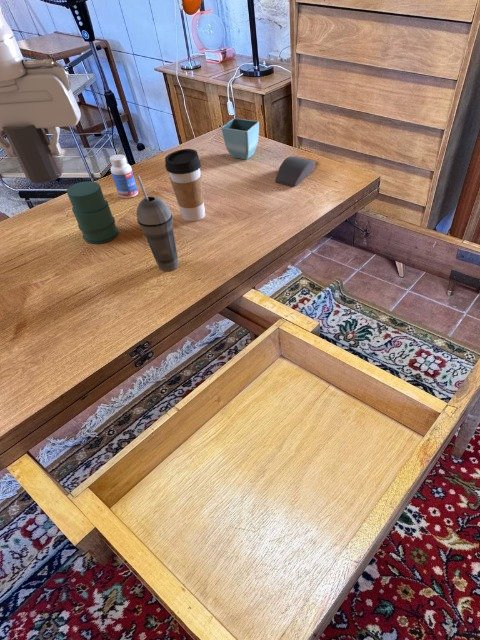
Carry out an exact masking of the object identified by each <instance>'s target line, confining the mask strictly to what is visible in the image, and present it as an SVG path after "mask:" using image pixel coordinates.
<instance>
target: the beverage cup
mask: <svg viewBox="0 0 480 640" xmlns="http://www.w3.org/2000/svg"><path fill="white" fill-rule="evenodd" d="M136 179H137V181H138V183H139V185H140V188H141V191H142V193H143V195H144V196H143V197H144V198H142V199H141V200H140V202H139V203H138V205H137V208H136V221H137V223H138V224H139V227H140V229H141V230H142V232H143V234H144V236H145V239H146V241H147V243H148V246H149V248H150V250H151V253H152V256H153V259H154V260H155V263H156V264H157V267H158V269H159V270H160V271H162V272H172V271H175V270H176V269H177V268H178V267H179V256H178V251H177V245H176V238H175V234H174V227H173V226H174V223H173V222H174V220H173V214H172V212H171V209H170V207H169V205H168V204H167V202H165V201H164V200H163V199H161V198H160V197H157V196H148V194H147V192H146V189H145V187H144V184H143V182H142V179H141V176H140V174H137V175H136Z"/></svg>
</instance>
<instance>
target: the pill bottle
mask: <svg viewBox="0 0 480 640" xmlns="http://www.w3.org/2000/svg"><path fill="white" fill-rule="evenodd" d="M109 162H110V164H111V166H110V172H111V176H112V179H113V183H114V186H115V188H116V191H117V195H118V197H120V198H121V199H122V198H123V199H130V198H134V197H136V196H137V195H138V193H139V190H138V186H137V183H136V179H135V176H134V173H133V169H132V166H131V165H130V164H129V163H127V158H126V155H125V154H114V155H111V156H109Z"/></svg>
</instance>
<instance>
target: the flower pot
mask: <svg viewBox="0 0 480 640" xmlns="http://www.w3.org/2000/svg"><path fill="white" fill-rule="evenodd" d="M220 129H221V133H222V139H223V141H224V146H225V147H226V149H227V152H229V155H230V156H231V157H232V158H234V159H240V160H246V161H247V160H248V159H250V158H251V157H252V156H253V155H254V154H255V152H256V150H257V147H258V143H259V137H260V136H259V135H260V121H258V120H251V119H244V118H237V117H233V118H232V119H231V120H229V121H228V122H227V123H225V124H224V125H222V127H220Z"/></svg>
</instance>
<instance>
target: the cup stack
mask: <svg viewBox="0 0 480 640" xmlns="http://www.w3.org/2000/svg"><path fill="white" fill-rule="evenodd" d="M66 194H67V197H68V199H69V201H70V204H71V206H72V207H71V210H72V213H73V215H74V218H75V221H76V222H77V226H78V229H79V231H80V232H81V233H82V239H83V241H85V242H86V243H87V244H91V245H102V244H106V243H109V242H111V241H113V240H115V239H116V238H117V237H118V236H119V235H120V230H119V228H118V226H117V225H116V219H115V217H114V216H113V213H112V210H111V208H110V204H109V202H108V200H106V198H105V195H104V193H103V191H102V187H101V185H100V184H99V182H96V181H92V180H89V181H88V180H87V181H81V182H76V183H74V184H71V185H70V186H68V188H66Z"/></svg>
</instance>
